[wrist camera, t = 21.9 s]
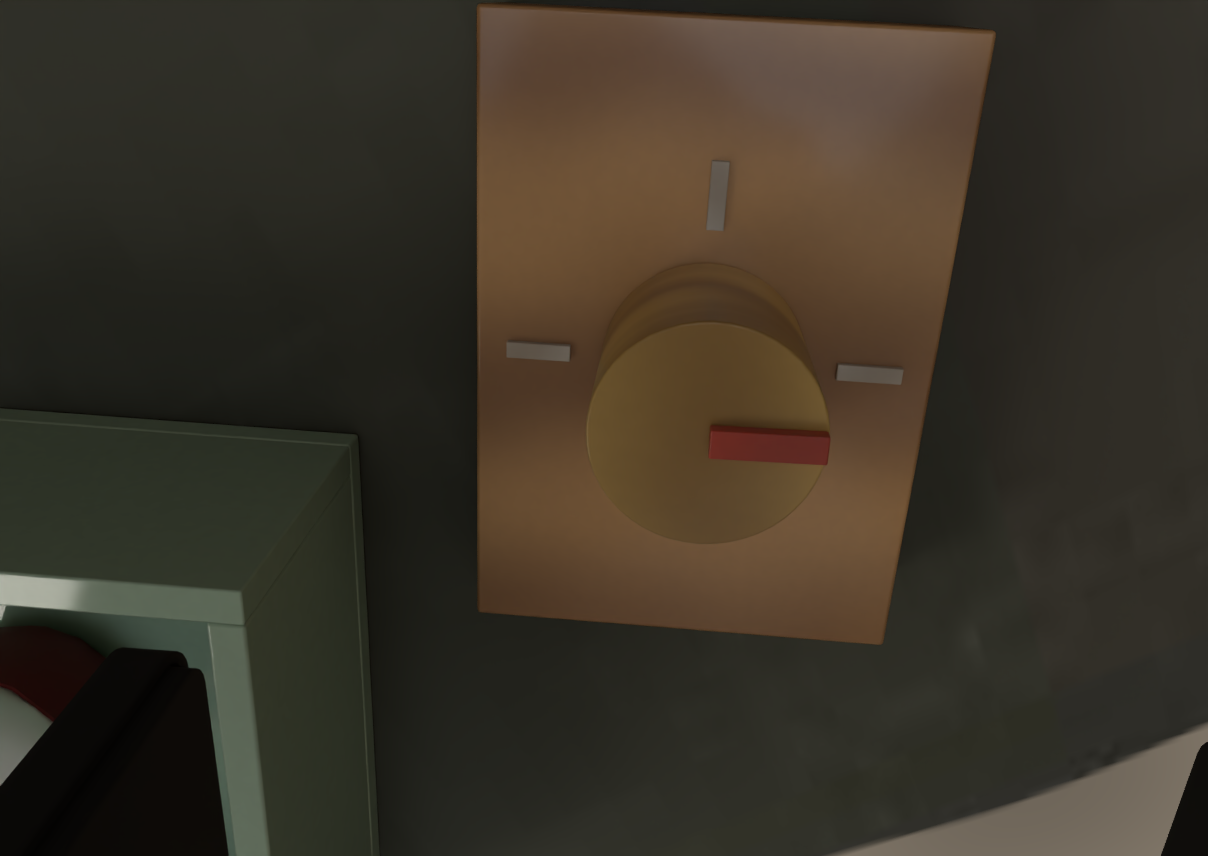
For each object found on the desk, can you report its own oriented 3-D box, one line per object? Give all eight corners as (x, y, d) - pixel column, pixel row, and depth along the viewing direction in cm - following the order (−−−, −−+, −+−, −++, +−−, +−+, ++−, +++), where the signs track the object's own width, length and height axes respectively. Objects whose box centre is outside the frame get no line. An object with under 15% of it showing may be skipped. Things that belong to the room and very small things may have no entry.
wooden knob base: (500, 1, 22) (474, 2, 20) (959, 26, 22) (1000, 30, 19) (497, 552, 28) (475, 617, 25) (863, 581, 28) (884, 650, 25)
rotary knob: (599, 448, 23) (581, 545, 19) (604, 258, 21) (586, 320, 17) (793, 459, 23) (818, 560, 19) (815, 267, 21) (846, 332, 17)
